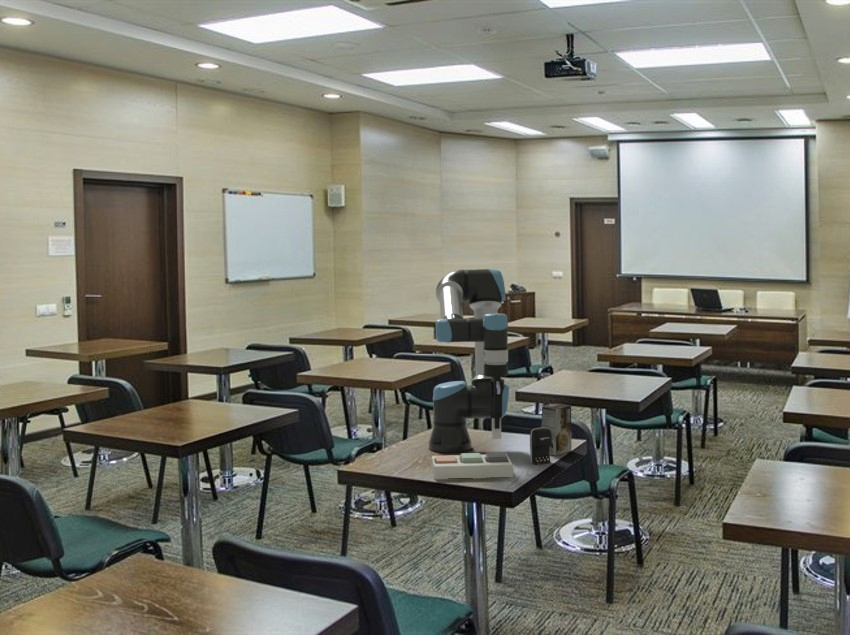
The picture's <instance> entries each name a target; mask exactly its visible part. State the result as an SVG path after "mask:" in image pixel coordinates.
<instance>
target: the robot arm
mask: <svg viewBox="0 0 850 635" xmlns="http://www.w3.org/2000/svg"><path fill="white" fill-rule="evenodd" d="M435 296H436V298H437V301H438V302H439V312H440V313H439V314H440V319H439V318H438V319H436V321H435V339H436V341H437V342H438V343H447V344H450V343H474V354H475V357H474V359H475V361H474V362H475V376H474V377H473V378H472V379H471V385H467V382H466V381H464V380H455V381H454V380H453V381H448V382H442V383H439V384H437V385H434V388H433V394H432V396H433V397H432V401H433V402H432V403H433V405H432V406H433V408H432V409H433V411H432V412H433V413H432V414H433V417H432V418H433V427H432V431H431V434H430V437H429V441H428V449H429V450H430V451H433V452H437V453H438V452H440V453H460V452H466V451H469V450H471V449H472V446H473V445H472V439H471V437H470V434H469V431H468V427H467V419H491V438H492V440H501V439H502V418H504V417H505V416H506V414H507V411H508V407H509V406H508V405H509V404H508V403H509V397H510V396H509V395H510V390H509V389H510V386H509V385H508V384H505V379H504V377H507V376H508V375H509V365H508V364H507V363H508V362H509V347H508V336H509V334H508V332H509V331H508V327H509V322H508V315H507V314H506V313H499V312H498V310H499V309H500V308H501V307H502V302H504V301H505V300H506V287H505V281H504V277H503V274H502V272H501V271H500V270H498V269H493V268H492V269H489V268H486V269H483V268H482V269H480V268H478V269H457V270H456V269H455V270H453V271H450V272H449V273H447V274H446V275H444V276H443V277H442V278H441V280H439V281H438V283H437V285H436V289H435ZM462 302H464V303H465V302H466V303H467V302H468V304H469V308H470V309H471V310H472V311H473V318H464V313H463V311H464V310H463V305H462Z"/></svg>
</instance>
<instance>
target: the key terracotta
mask: <svg viewBox="0 0 850 635" xmlns="http://www.w3.org/2000/svg"><path fill="white" fill-rule="evenodd" d="M435 456H436V464H445V463H456V459H455V456H446V455H435Z"/></svg>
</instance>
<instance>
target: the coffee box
mask: <svg viewBox="0 0 850 635" xmlns="http://www.w3.org/2000/svg"><path fill="white" fill-rule="evenodd" d="M543 427H544V428H547V429H550V430H551V433H552V444H550V446H549V455H551V456H558V455H562V454H566V453H569V452H571V451H572V450H573V449H572V405H569V404H564V403H558V402H557V403H553V404H549V405H548V404H547V405H544V406H541V428H543Z"/></svg>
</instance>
